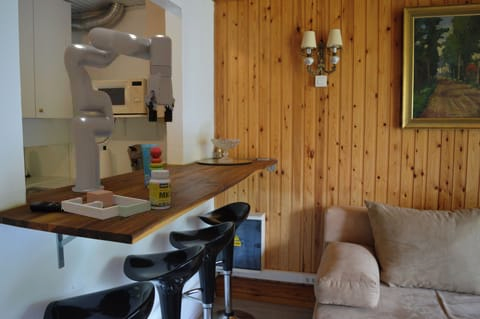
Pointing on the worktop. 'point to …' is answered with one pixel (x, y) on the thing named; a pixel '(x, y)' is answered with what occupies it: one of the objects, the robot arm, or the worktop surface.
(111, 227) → the worktop surface
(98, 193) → the block
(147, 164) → the tube
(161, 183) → the supplement bottle
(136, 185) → the worktop surface
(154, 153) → the stacking toy
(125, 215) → the box
